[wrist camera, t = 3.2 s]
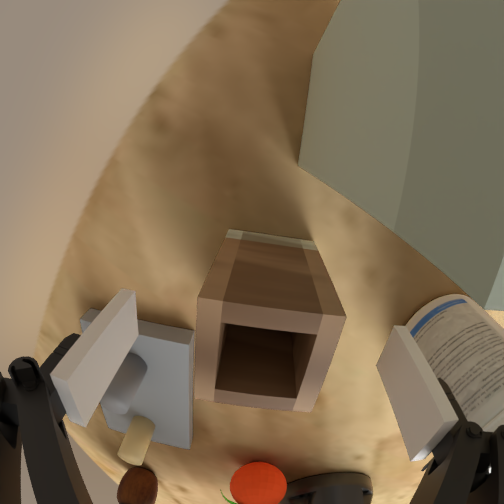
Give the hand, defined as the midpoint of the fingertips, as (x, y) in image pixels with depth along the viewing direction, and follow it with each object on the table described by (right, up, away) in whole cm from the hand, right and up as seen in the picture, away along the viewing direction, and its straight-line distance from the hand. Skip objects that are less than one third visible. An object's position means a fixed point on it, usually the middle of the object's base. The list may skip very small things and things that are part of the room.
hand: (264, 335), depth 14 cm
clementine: (0, -23, +17) cm, 29 cm away
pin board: (-11, -9, +13) cm, 19 cm away
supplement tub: (+17, -4, +9) cm, 19 cm away
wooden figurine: (-17, -30, +21) cm, 40 cm away
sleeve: (0, +2, +8) cm, 8 cm away
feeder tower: (+7, +13, +4) cm, 15 cm away
